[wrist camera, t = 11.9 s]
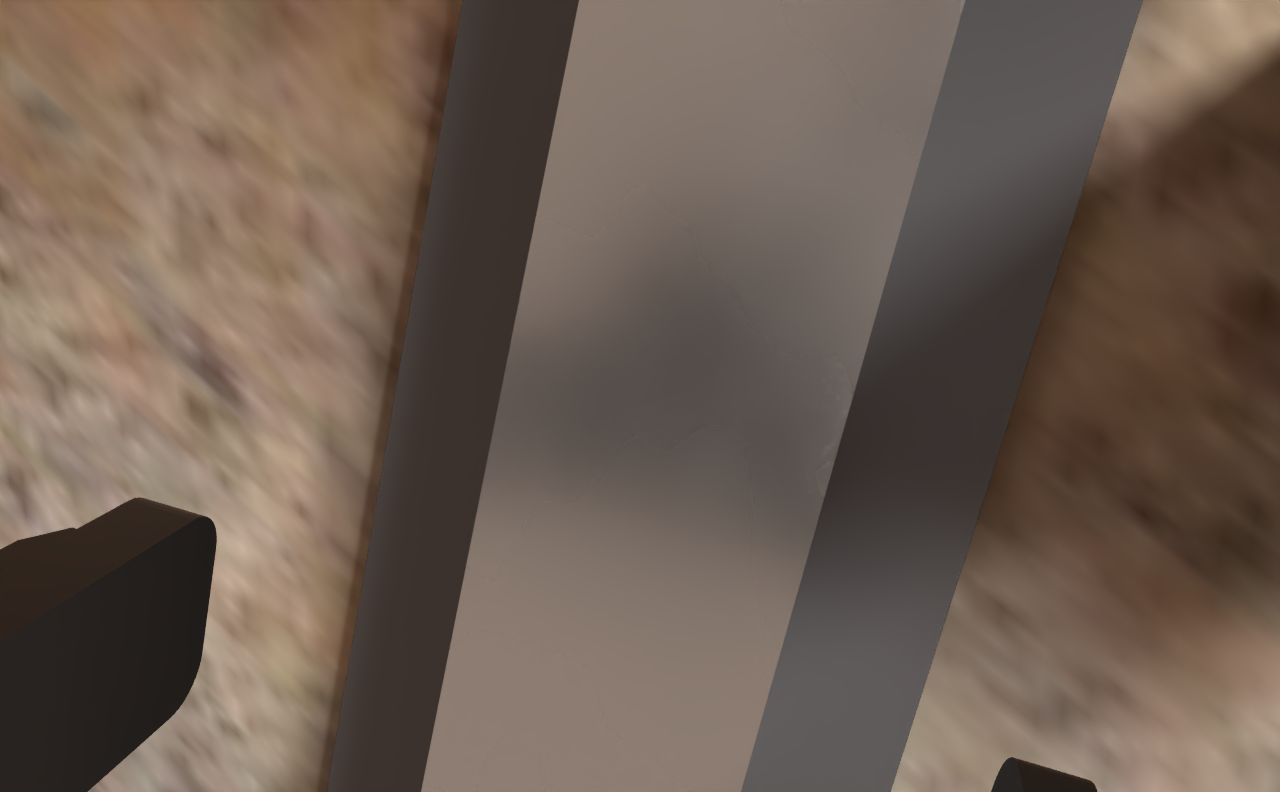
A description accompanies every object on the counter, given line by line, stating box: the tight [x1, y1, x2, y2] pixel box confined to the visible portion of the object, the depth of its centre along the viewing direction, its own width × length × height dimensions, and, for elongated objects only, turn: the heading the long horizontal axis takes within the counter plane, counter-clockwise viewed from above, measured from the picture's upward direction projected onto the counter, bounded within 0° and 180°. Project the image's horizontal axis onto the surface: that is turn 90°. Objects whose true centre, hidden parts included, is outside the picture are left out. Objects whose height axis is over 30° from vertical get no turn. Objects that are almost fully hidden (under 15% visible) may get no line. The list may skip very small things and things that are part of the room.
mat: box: [327, 0, 1143, 792], centre depth 16 cm, size 24×8×1 cm, turn 167°
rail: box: [421, 0, 965, 792], centre depth 14 cm, size 22×4×4 cm, turn 167°
